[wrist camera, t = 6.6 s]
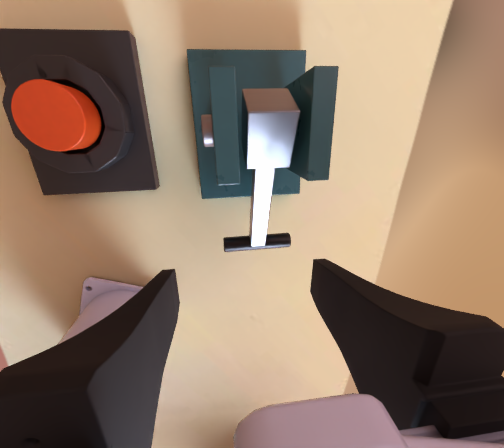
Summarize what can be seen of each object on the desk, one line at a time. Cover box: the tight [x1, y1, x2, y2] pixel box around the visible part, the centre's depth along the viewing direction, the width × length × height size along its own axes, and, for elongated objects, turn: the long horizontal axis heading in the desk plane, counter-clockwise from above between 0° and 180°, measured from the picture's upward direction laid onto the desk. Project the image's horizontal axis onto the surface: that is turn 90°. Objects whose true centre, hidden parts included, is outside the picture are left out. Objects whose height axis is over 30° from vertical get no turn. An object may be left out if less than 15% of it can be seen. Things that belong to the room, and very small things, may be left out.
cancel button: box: [11, 79, 101, 151], centre depth 14 cm, size 4×4×2 cm
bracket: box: [187, 49, 338, 199], centre depth 14 cm, size 10×8×10 cm
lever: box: [224, 88, 300, 252], centre depth 14 cm, size 11×5×2 cm, turn 2°
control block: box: [0, 29, 160, 195], centre depth 16 cm, size 10×8×3 cm
